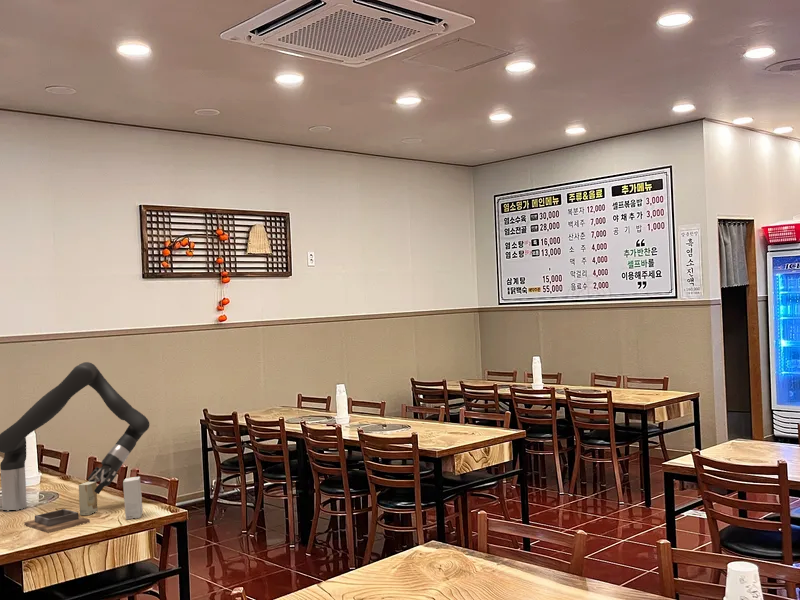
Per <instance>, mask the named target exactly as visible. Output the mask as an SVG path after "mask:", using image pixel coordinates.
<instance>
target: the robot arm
mask: <svg viewBox="0 0 800 600" xmlns="http://www.w3.org/2000/svg"><path fill="white" fill-rule="evenodd" d="M87 386H89V387H90V388H92V389H93V390H94V391H95V392H96V393H97V394H98V395H99V397H100V398H101V399H102V401H103V402H104V404H105V405H106V407H107V408H108V409H109V410H110V411H111V413H113V414H114V416H116V417H117V418H118V419H119V420H120V421H124V422H126V423H127V424H128V427H127V428H126V430H124V433H123V434H122V435H121V437H119V438H118V440H117V441H116V443H115V444H114V445H113V446H112V447H111V448H110V450H109V451H108V452H107V454H106V455H105V456H104V458H103V459H102V460H101V462H100V463H101V464H102V465H101V467H98V466H96V467H95V468H94V469H93V471H92V472H91V473H90V474H89V476H88V477H87V479H88V482H96V483H97V482H100V483H99V484H98V485H96V486H97V488H96V489H95V490H94V492H96V493H97V495H99V494H100V493H101V492H102V491H103V489H104V488H105V487H107V486H110V485H111V484H112V482H113V481H114V479H115V478H116V476H117V475H118V471H119V470H120V469H121V467H122V466H123V464H124V463H125V462H126V460H127V459H128V457H129V455H130V453H131V452H132V451H133V450H134V448H135V447H136V446H137V442H138V441H139V440H140V439H141V437H142V436H143V435H144V434H145V433H146V432H147V431H148V430H149V428H150V421H149V419H148V418H147V417H146V416H145V414H143V413H141V412H140V411H139V410H137V409H135V408H134V407H133V406H132V405H131V404H130V403H129V402H128V401H127V400H126V399H125V398H124V397H123V396H122V395H120V394H119V393H118V392H117V391H116V390H115V389H114V388H113V386H112V385H111V384H110V383H109V382H108V380H107V379H106V378H105V377H104V375H103V374H102V373H101V371H100V369H99V368H98V367H97V366H96V365H95V364H93V363H92V362H89V361H86V362H82V363H79V365H76V366H75V367H73V369H72V370H71V371H70V372H69V373H68V375H66V377H65V378H63V380H62V381H61V382H60V383H59V384H58V385H56V386H55V387H54V388H53V389H50V390H49V391H48V392H47V393H46V394H45V395H43V396H42V397H41V398H40V399H39V400H37V401H36V402H35V403H34V404H33V405H32V406H31V407H30V408H29V409H28V410H27V411H26V412H25V413H24V414H23V415H22V416H21V417H20V418H19V419H18V420H17V421H15V422H14V423H12V425H10V426H9V427H7V428H6V429H5V430H3V431H2V432H0V453H2V454H4V456H3V458H2V461H1V462H0V486H1V504H2V505H1V506H2V511H3V510H16V511H20V510H19V509H21V510H24V509H26V508H27V507H28V506H27V505H28V503H27V501H28V500H27V486H26V485H27V483H26V482H27V481H26V460H27V437H28V436H29V435H30V434H31V433H32V432H34V431H35V430H37V429H39V428H41V427H42V426H44V425H46V424H47V423H48V422H50V421H51V420H52V419H53V418H54V417H55V416H57V414H59V413H60V412H61V411H62V410H63V408H65V406H66V405H67V403H68V402H69V401H70V400H71V398H72V397H74V396H75V395H76V394H77V393H78V392H80V391H81V390H82V389H84V388H85V387H87ZM25 507H26V508H25ZM23 508H24V509H23Z"/></svg>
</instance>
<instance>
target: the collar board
mask: <svg viewBox="0 0 800 600" xmlns="http://www.w3.org/2000/svg"><path fill="white" fill-rule="evenodd" d="M87 522H89V523H90V522H91V521H90V519H89V518H87V517H82V516H80V514H79V512H77V511H74V510H70V509H66V508H62V509H58V510H54V511H48V512H46V513H41V514H36V515H34V519H32V520H27V521H24V526H25V525H26V526H25V527H28V526H29V528H31V527H32V529H35V530H38V531H42V532H45V533H47V532H48V534H50V533H54V532H56V531H57V532H58V531H60V530H65V529H70V528H74V527H77V526H81V525H84V524H83V523H85V524H88V523H87ZM80 524H81V525H80ZM76 525H77V526H76ZM53 531H54V532H53ZM49 532H50V533H49Z"/></svg>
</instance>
